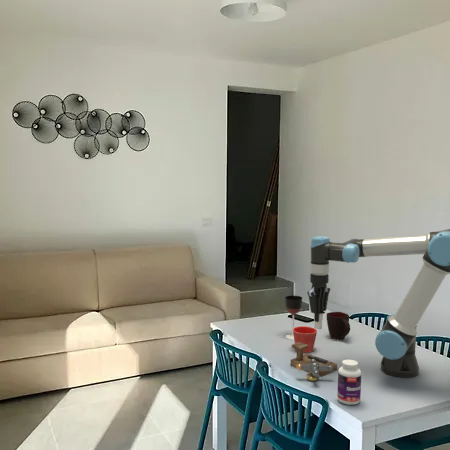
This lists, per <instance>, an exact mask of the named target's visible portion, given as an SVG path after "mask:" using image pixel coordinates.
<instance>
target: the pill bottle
mask: <svg viewBox="0 0 450 450" xmlns="http://www.w3.org/2000/svg"><path fill="white" fill-rule="evenodd" d="M358 366H359V362H358V361H357V360H353V359H344V360H342V361H341V366H340V367H339V368H338V369H337V370H338V372H337V394H336V395H337V399H338V401H339V402H340V403H342V404H344V405H347V406H354V405H358V404H359V403H360V402H361V394H362V393H361V391H362V371H361V369H360V368H358Z"/></svg>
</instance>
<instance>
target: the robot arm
mask: <svg viewBox="0 0 450 450" xmlns="http://www.w3.org/2000/svg"><path fill="white" fill-rule="evenodd" d="M409 255H410V256H412V255H413V256H414V255H423V256H422V262H423V265H422V266H421V268H420V270H419V271H418V273H417V275H416V277H415V279H414V281H413V282H412V284H411V285H410V287H409V288H408V289H409V290H408V291H407V292H406V295H405V297H404V299H403V300H402V301H401V303H400V306H399V307H398V309H397V311H396V312H395V314H389V315H387V317H386V320H385V323H384V325H383V327H382V328H381V330H380V332H378V333H377V335H376V337H375V339H374V340H375V342H374V343H375V344H374V345H375V347H376V350H377V352H378V353H379V355H381V356H382V359H381V360H380V361H381V362H380V370H381V371H382V372H383V373H385V374H387V375H388V376H389V375H390V376H392V377H398V378H414V377H416V376H418V375H419V374H420V365H419V363H418V362H419V361H418V359H417V356H416V343H417V335H418V331H417V327H418V324H419V322H420V321H421V319H422V317H423V315H424V314H425V312H426V311H427V309H428V307H429V305H430V304H431V302H432V300H433V298H434V297H435V295H436V293H437V292H438V291H439V288H440V286H441V284H442V283H443V282H444V279H445V278H446V276H448V275H450V228H449V229H443V230H439V231H430V232H428V233H427V234H422V235H405V236H403V235H402V236H391V237H375V238H373V237H372V238H362V239H359V238H351V239H349V240H347V241H344V242H332V241H331V240H330V237H328V236H324V235H321V236H320V235H319V236H318V235H317V236H312V238H311V241H310V275H309V277H310V278H309V281H310V283H311V289H310V291H309V290H308V291H307V295H308V300H309V308H310V313H312V314H313V315H314V319H313V320H314V329H316V330H322V329H323V314H325V313H326V311H327V307H328V302H329V301H328V300H329V294H330V292H331V288H330V287H327V286H328V285H327V284H328V283H329V280H330V279H329V273H330V261H331V262H332V261H333V262H343V263H357V262H358V260H359V258H365V257H366V258H367V257H386V256H387V257H388V256H391V257H392V256H409Z"/></svg>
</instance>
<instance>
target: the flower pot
mask: <svg viewBox="0 0 450 450" xmlns="http://www.w3.org/2000/svg"><path fill="white" fill-rule="evenodd" d="M317 330H318V329H316V328H315V327H311V326H305V325H304V326H302V325H301V326H294V329H293V335H294V339H293V341H294V344H295V343H298V342H300V343H303V344H307V345H308V348H305V349H303V354H304V353H305V354H309V353H311V352H313V350H314V347H315V343H316V337H317V333H318V331H317ZM295 350H296V351H297V349H296V348H295ZM308 352H309V353H308Z"/></svg>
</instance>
